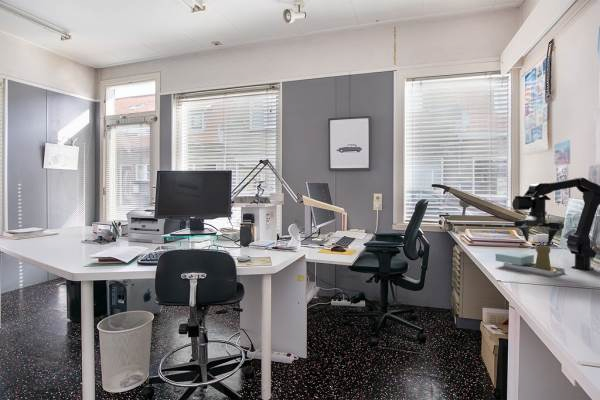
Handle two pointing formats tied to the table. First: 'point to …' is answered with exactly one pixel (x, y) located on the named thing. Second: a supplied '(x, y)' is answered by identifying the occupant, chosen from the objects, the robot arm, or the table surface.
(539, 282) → the table surface
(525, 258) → the cover
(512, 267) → the board
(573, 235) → the robot arm
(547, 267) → the cork
